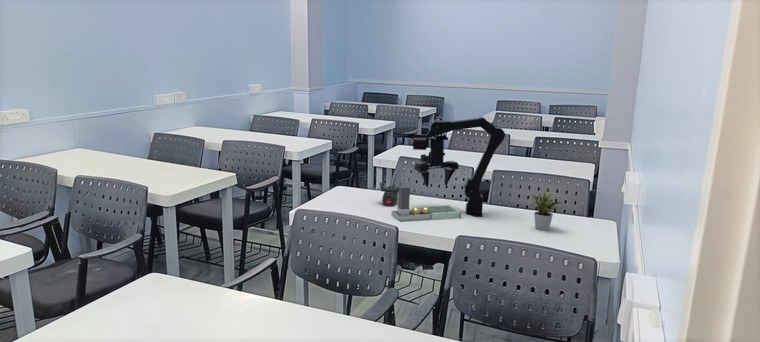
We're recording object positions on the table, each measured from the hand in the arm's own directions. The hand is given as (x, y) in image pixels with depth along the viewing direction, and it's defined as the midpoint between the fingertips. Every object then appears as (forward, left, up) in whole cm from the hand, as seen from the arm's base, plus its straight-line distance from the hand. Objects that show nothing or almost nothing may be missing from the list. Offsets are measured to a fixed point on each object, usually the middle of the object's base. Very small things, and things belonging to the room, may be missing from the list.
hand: (436, 185), depth 234 cm
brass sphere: (+8, +12, -11) cm, 18 cm away
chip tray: (-3, +7, -12) cm, 14 cm away
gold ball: (+4, +10, -11) cm, 15 cm away
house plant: (-42, +17, -12) cm, 47 cm away
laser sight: (+21, -14, -12) cm, 28 cm away
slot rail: (+4, +10, -12) cm, 16 cm away
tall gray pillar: (+13, +14, -11) cm, 22 cm away
